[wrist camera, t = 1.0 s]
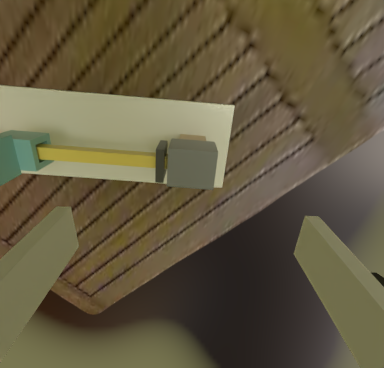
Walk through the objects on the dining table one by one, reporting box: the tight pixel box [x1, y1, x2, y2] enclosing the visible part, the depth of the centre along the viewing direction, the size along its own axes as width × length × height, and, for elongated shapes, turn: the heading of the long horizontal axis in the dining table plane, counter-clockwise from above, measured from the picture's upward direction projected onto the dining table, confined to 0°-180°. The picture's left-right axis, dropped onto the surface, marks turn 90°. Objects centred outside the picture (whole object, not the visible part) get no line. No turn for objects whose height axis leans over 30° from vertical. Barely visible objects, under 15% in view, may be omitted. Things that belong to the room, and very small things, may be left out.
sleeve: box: [0, 130, 54, 186], centre depth 27 cm, size 5×5×10 cm
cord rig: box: [0, 85, 235, 190], centre depth 32 cm, size 14×42×12 cm, turn 85°
